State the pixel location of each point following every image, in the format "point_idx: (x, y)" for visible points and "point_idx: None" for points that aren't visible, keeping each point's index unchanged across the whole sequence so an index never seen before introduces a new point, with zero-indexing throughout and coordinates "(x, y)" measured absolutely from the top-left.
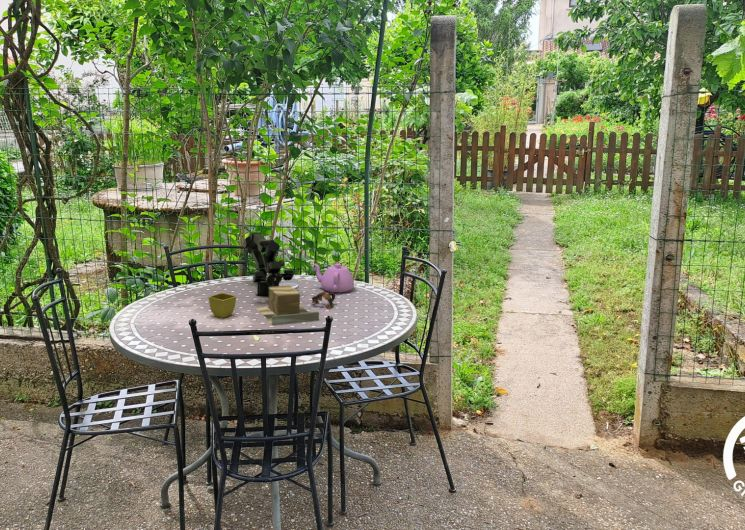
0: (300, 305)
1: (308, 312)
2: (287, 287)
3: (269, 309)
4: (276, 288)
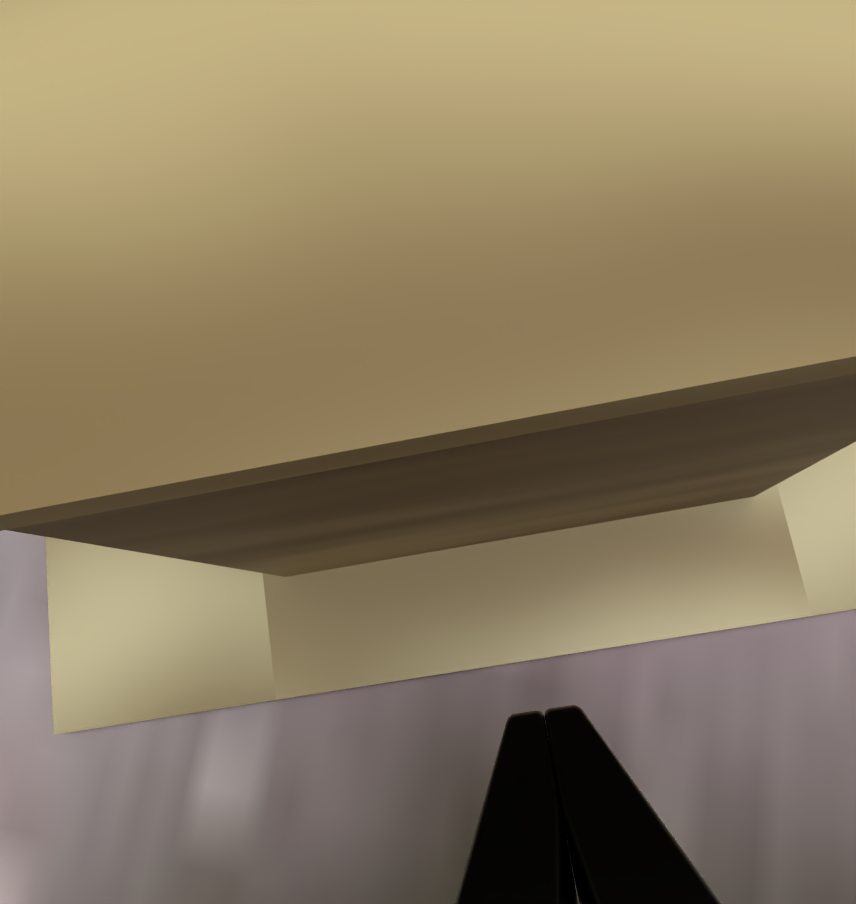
0: (60, 587)
1: None
2: (142, 167)
3: None
4: (682, 29)
